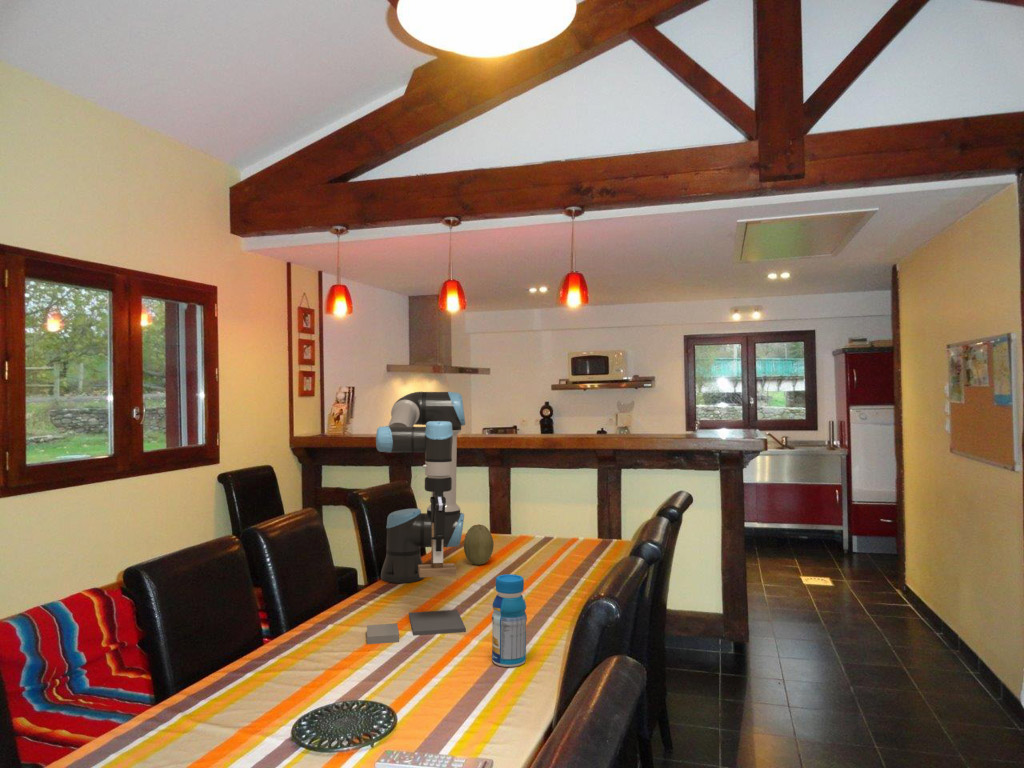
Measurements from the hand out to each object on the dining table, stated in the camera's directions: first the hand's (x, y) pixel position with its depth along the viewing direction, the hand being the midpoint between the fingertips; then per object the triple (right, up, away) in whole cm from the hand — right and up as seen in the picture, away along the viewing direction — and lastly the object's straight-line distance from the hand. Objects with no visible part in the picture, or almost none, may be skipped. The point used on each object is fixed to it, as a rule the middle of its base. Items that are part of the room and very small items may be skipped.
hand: (437, 560), depth 189 cm
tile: (-14, -16, -7) cm, 23 cm away
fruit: (+8, -19, +67) cm, 70 cm away
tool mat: (0, -17, 0) cm, 17 cm away
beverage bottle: (+20, -17, -26) cm, 37 cm away
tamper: (0, -4, 0) cm, 4 cm away
